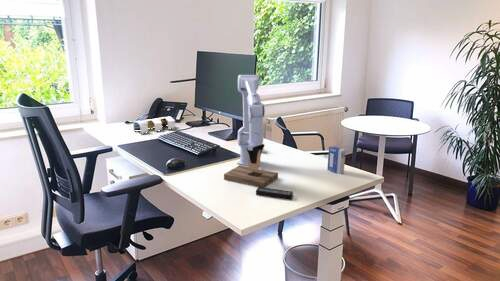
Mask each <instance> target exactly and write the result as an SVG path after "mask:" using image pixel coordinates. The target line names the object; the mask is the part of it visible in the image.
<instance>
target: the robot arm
mask: <svg viewBox="0 0 500 281" xmlns="http://www.w3.org/2000/svg"><path fill="white" fill-rule="evenodd" d="M259 87H260V76H259V74H239V75H237V92H239V93H241V96H242V123H243V126H241V127H240V128H239V129H238V130H237V138H236V140H237V145H238V146H239V147H240V149H239V150H240V158H239V159H240V160H239V161H237V162H236V164H238V165H241V166H246V167H249V156H250V161H251V163H253V164H256V162H257V156H258V152H259V150H260V149H261V153H260V158H261V156H262V153H263V150H264V148H265V144H264V137H263V132H264V130H263V129H264V128H263V126H264V125H263V124H264V118H265V113H266V111H265V110H266V109H265V105H264V103H263V102H262V101H261V100H262V99H261V96H260V94H259V93H257V91H258V89H259Z"/></svg>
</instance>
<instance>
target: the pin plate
mask: <svg viewBox="0 0 500 281" xmlns="http://www.w3.org/2000/svg"><path fill="white" fill-rule="evenodd" d="M278 178H279V172H276V171H271V170H266V169H261V168H258V169H252V168H249V166H247V165H242V164H238V166H236V167H234V168H232V169H230V170H228V171H227V172H225V173H223V180H225V181H230V182H235V183H239V184H243V185H248V186H251V187H256V188H258V187H264V188H267V187H268V186H269V185H270V184H272V183H273V182H274V181H276V180H278Z"/></svg>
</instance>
